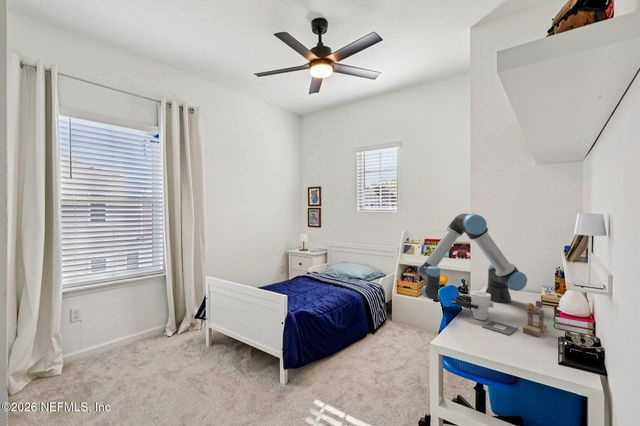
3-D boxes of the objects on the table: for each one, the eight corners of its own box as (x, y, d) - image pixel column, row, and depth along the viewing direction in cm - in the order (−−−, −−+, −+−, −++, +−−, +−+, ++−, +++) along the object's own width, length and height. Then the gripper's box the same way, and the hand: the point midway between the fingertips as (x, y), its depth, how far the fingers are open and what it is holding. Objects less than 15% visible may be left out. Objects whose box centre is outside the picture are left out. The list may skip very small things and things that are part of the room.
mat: (491, 321, 161) (491, 320, 161) (517, 329, 152) (517, 327, 152) (482, 327, 153) (482, 325, 153) (508, 335, 144) (508, 334, 144)
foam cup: (492, 321, 160) (493, 296, 160) (473, 320, 162) (473, 295, 162) (486, 315, 169) (487, 291, 169) (468, 313, 171) (469, 290, 171)
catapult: (532, 325, 157) (533, 296, 156) (546, 329, 152) (547, 298, 152) (520, 334, 146) (522, 302, 146) (535, 338, 141) (537, 305, 141)
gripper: (457, 299, 187) (497, 309, 169) (438, 306, 172) (480, 318, 155) (457, 287, 186) (497, 296, 169) (438, 293, 172) (480, 303, 155)
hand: (489, 306), depth 162 cm, fingers closed on foam cup, 9 cm apart
